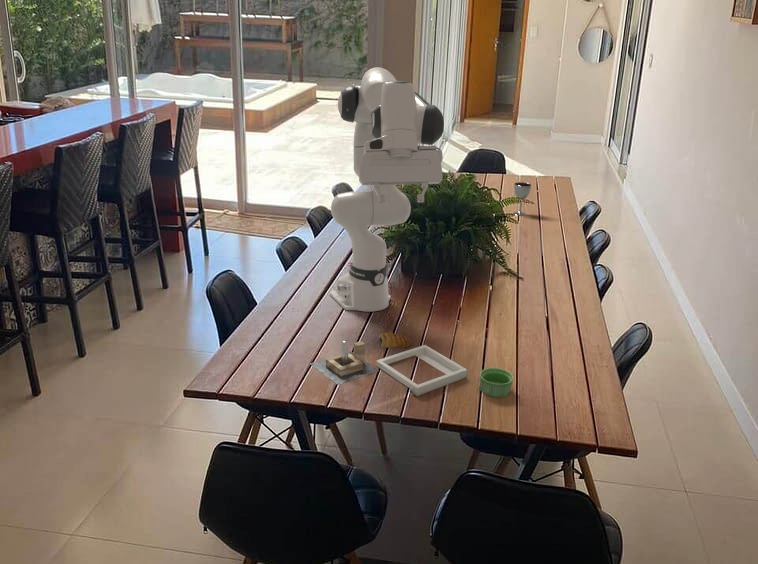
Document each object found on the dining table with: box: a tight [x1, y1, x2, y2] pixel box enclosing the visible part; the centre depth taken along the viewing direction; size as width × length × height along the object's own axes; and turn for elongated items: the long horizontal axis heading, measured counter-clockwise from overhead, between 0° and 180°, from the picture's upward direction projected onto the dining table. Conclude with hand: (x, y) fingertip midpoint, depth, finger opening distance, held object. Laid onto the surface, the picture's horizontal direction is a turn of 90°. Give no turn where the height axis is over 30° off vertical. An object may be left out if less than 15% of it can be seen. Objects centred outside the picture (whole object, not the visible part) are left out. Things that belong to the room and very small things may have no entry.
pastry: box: [378, 332, 411, 349], centre depth 213 cm, size 9×7×4 cm
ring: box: [325, 340, 366, 376], centre depth 197 cm, size 8×10×6 cm
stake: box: [309, 339, 380, 386], centre depth 196 cm, size 14×14×9 cm
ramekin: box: [479, 367, 515, 398], centre depth 190 cm, size 9×9×4 cm
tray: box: [375, 344, 468, 397], centre depth 197 cm, size 18×18×2 cm
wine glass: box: [512, 181, 532, 217], centre depth 349 cm, size 8×8×15 cm
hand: (401, 202), depth 171 cm, fingers open, 8 cm apart
